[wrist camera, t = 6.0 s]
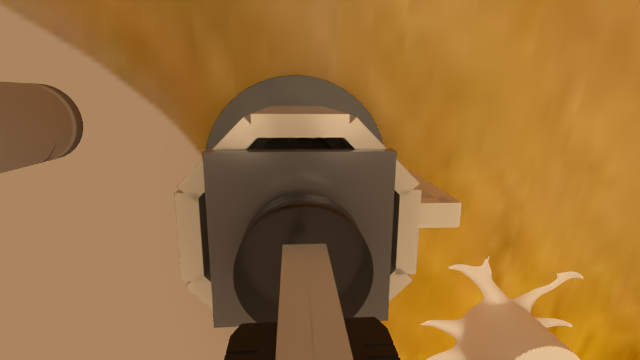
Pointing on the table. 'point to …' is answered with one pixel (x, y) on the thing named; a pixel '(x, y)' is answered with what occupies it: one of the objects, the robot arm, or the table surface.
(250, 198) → the carafe
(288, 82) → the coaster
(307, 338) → the robot arm
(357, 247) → the plunger
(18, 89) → the travel mug
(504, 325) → the tree stump
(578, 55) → the table surface
